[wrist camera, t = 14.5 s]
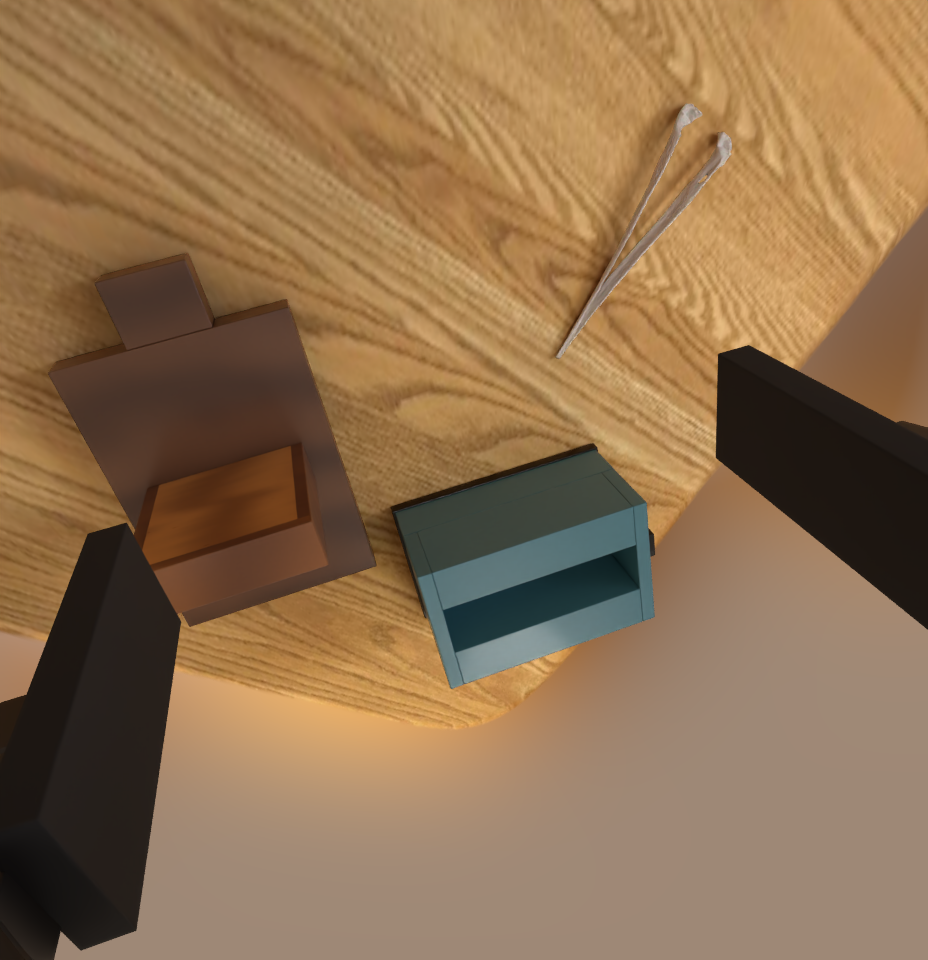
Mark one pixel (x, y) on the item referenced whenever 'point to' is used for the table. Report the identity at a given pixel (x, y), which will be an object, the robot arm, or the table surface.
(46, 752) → the robot arm
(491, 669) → the toaster
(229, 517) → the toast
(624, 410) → the table surface
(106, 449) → the bread board
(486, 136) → the table surface
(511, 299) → the table surface
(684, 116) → the tweezers
